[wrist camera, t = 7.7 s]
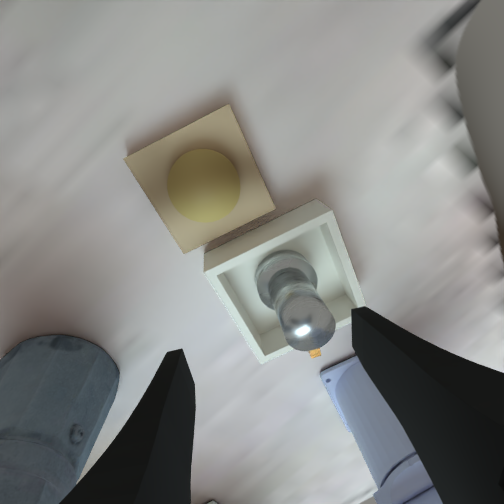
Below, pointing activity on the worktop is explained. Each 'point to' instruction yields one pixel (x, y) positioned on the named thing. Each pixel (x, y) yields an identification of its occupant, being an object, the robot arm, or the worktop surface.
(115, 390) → the moka pot
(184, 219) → the stud block
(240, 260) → the tray
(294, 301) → the coffee tamper
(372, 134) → the worktop surface
